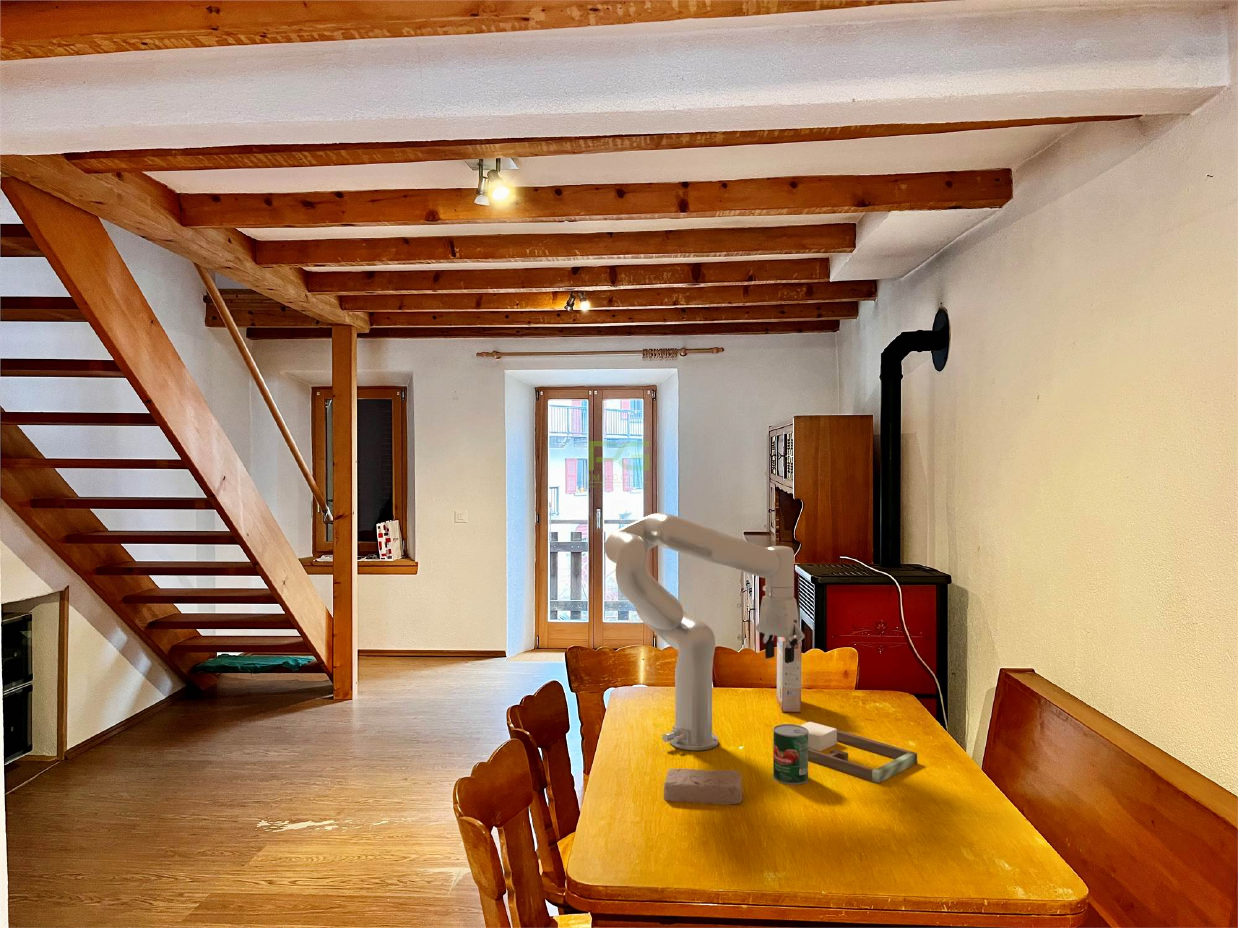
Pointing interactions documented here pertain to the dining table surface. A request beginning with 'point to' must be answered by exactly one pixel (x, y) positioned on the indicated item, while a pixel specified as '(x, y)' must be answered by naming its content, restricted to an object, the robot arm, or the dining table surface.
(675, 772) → the brick
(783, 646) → the cracker box
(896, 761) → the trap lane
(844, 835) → the dining table surface
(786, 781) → the canned tomato
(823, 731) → the cream block
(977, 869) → the dining table surface
